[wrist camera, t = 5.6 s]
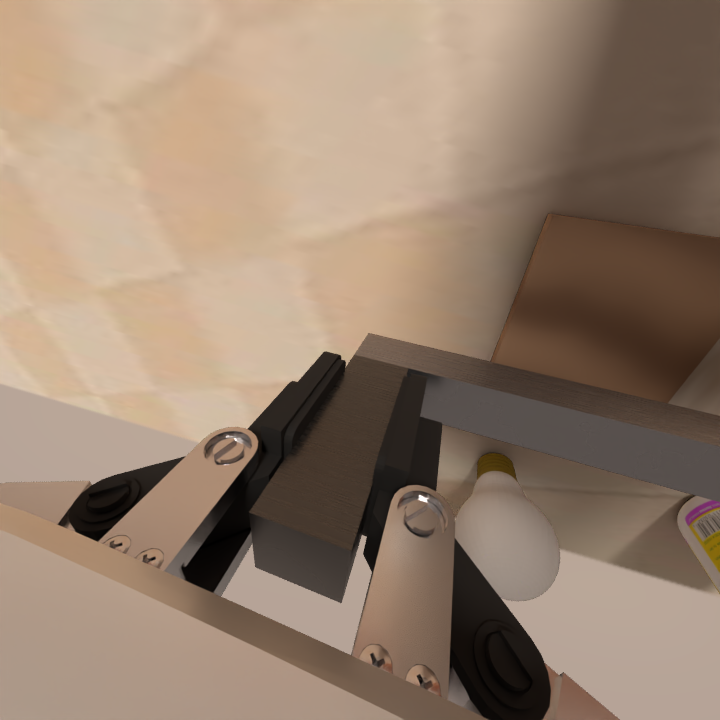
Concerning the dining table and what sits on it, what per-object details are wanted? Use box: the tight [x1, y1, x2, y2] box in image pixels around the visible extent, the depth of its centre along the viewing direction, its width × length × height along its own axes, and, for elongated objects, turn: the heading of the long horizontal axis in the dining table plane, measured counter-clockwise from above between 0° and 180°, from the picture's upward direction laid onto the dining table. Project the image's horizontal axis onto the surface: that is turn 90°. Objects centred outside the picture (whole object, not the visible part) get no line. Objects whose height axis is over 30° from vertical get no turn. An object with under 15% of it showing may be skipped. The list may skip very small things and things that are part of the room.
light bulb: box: [455, 453, 560, 601], centre depth 21 cm, size 6×6×10 cm
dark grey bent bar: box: [249, 333, 720, 603], centre depth 8 cm, size 2×16×8 cm, turn 83°
